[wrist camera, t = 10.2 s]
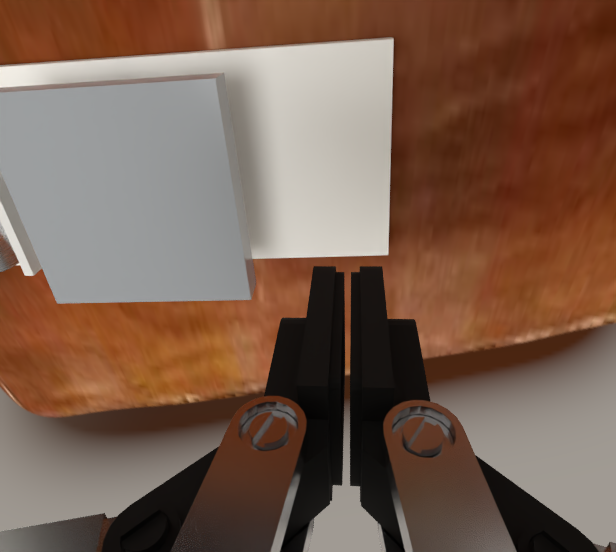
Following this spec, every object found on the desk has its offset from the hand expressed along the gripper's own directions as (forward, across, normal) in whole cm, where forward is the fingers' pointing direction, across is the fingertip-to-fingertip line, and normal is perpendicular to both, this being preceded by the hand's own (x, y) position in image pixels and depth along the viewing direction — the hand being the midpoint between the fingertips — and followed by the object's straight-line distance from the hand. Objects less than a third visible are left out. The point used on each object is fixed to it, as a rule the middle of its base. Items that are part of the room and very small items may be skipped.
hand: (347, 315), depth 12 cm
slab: (+10, +10, +1) cm, 14 cm away
